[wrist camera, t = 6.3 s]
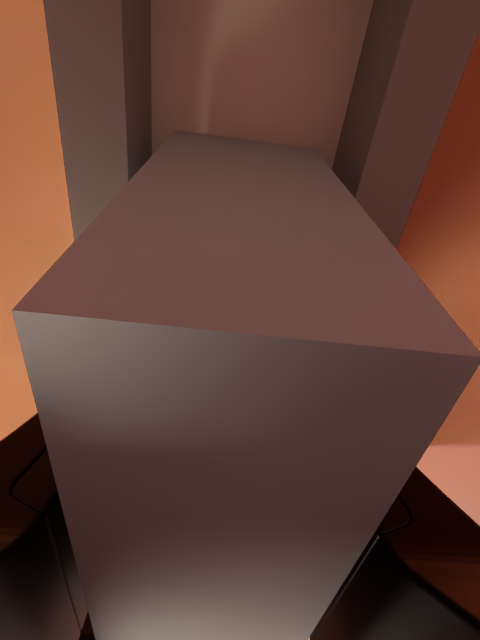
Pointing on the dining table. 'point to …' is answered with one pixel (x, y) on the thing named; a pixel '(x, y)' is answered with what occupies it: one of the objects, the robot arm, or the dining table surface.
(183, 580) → the grey rectangular block
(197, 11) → the track
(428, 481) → the robot arm
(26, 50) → the dining table surface
